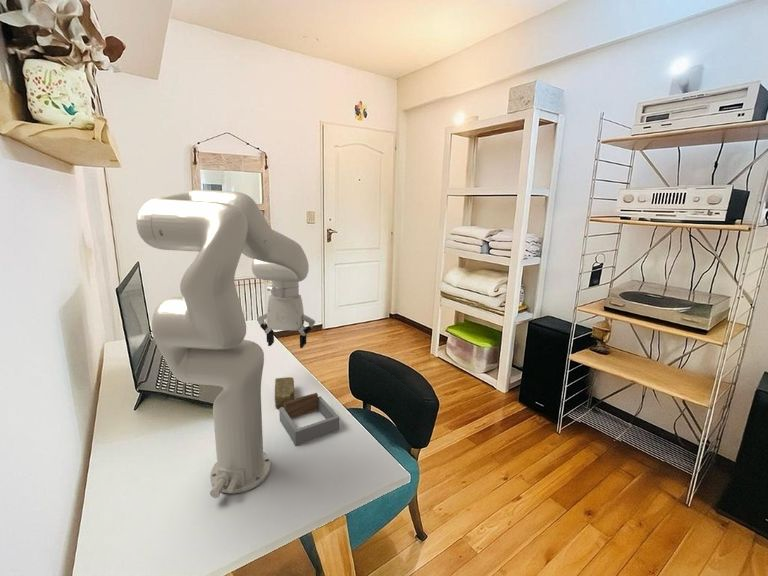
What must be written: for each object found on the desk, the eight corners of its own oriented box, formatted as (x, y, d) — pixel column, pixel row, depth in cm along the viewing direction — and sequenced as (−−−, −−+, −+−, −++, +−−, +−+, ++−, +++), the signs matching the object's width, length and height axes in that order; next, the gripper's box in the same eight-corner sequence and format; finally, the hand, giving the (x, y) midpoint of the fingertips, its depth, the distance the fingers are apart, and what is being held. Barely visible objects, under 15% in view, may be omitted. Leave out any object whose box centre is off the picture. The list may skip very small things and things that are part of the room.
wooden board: (317, 410, 104) (317, 394, 103) (285, 420, 99) (285, 404, 98) (316, 407, 105) (316, 392, 104) (284, 417, 100) (283, 401, 98)
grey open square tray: (339, 430, 96) (339, 417, 95) (295, 446, 89) (295, 432, 88) (320, 408, 106) (320, 395, 105) (279, 420, 99) (279, 407, 98)
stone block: (274, 411, 103) (274, 395, 102) (274, 390, 114) (274, 376, 113) (295, 408, 105) (295, 393, 104) (293, 389, 116) (293, 374, 115)
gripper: (251, 292, 101) (253, 348, 106) (311, 296, 101) (311, 352, 105) (261, 286, 109) (263, 338, 113) (317, 289, 108) (317, 342, 112)
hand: (286, 345), depth 109 cm, fingers open, 9 cm apart
